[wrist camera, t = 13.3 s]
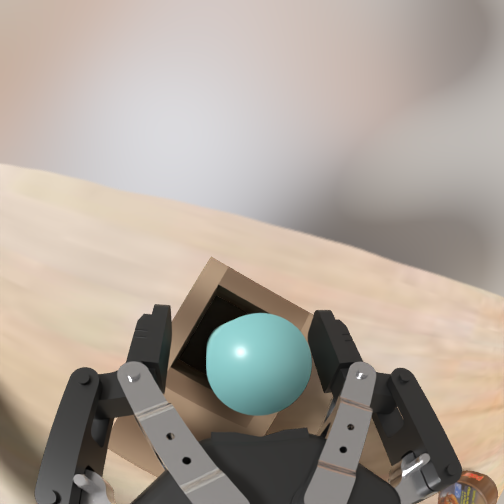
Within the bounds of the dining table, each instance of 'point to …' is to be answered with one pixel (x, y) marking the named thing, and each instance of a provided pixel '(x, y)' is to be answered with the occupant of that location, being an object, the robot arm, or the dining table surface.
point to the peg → (258, 363)
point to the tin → (470, 490)
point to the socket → (195, 382)
